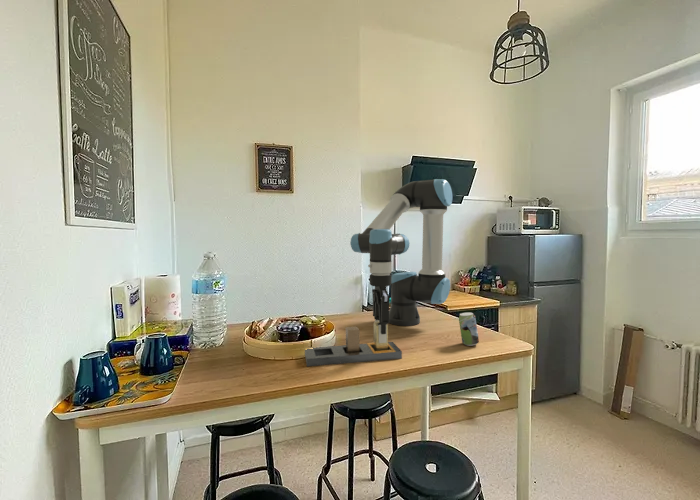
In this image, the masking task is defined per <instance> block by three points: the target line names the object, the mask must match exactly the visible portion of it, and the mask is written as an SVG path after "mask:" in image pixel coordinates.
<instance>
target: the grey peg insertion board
mask: <svg viewBox="0 0 700 500" xmlns="http://www.w3.org/2000/svg"><path fill="white" fill-rule="evenodd" d="M315 347H316V346H315ZM312 348H313V349H307V350H305V349H304V357H305V362H306V367H319V366H329V365H330V366H331V365H340V364H341V365H342V364H343V365H344V364H353V363H364V362H365V363H367V362H376V361H377V362H378V361H388V360H401V359H402V358H403V354H402V353H403V351H402V350H401V349H400V348H399V347H398V346H397V344H396V343H395V342H394V341H388V350H383V351H374V342H367V343H359V351H360V352H359V353H346V344H344V345H343V344H342V345H331V346H329V345H328V346H317V347H316V348H314V347H312Z"/></svg>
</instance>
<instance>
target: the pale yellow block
mask: <svg viewBox="0 0 700 500" xmlns="http://www.w3.org/2000/svg"><path fill="white" fill-rule="evenodd" d="M377 323H379V322H376V323H375V322H373V343H374V351H383V350H388V342H389V340H388V339H389V337H388V336H389V329H388V328H389V324H387V343H378V324H377Z"/></svg>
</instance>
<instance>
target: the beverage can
mask: <svg viewBox="0 0 700 500" xmlns="http://www.w3.org/2000/svg"><path fill="white" fill-rule="evenodd" d="M476 319H477V318H476V315H475V314H474V313H473V312H461V313H459V317H458V322H459V330H460V336H461V343H462V344H463V345H465V346H468V347H469V346H470V347H471V346H476V345H478V344H479V342H480V339H479V332H478V327H477V320H476Z"/></svg>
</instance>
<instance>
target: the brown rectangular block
mask: <svg viewBox="0 0 700 500" xmlns="http://www.w3.org/2000/svg"><path fill="white" fill-rule="evenodd" d="M359 344H360V329H359V327H358V326H345V345H346V353H359V352H360V351H359Z"/></svg>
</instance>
